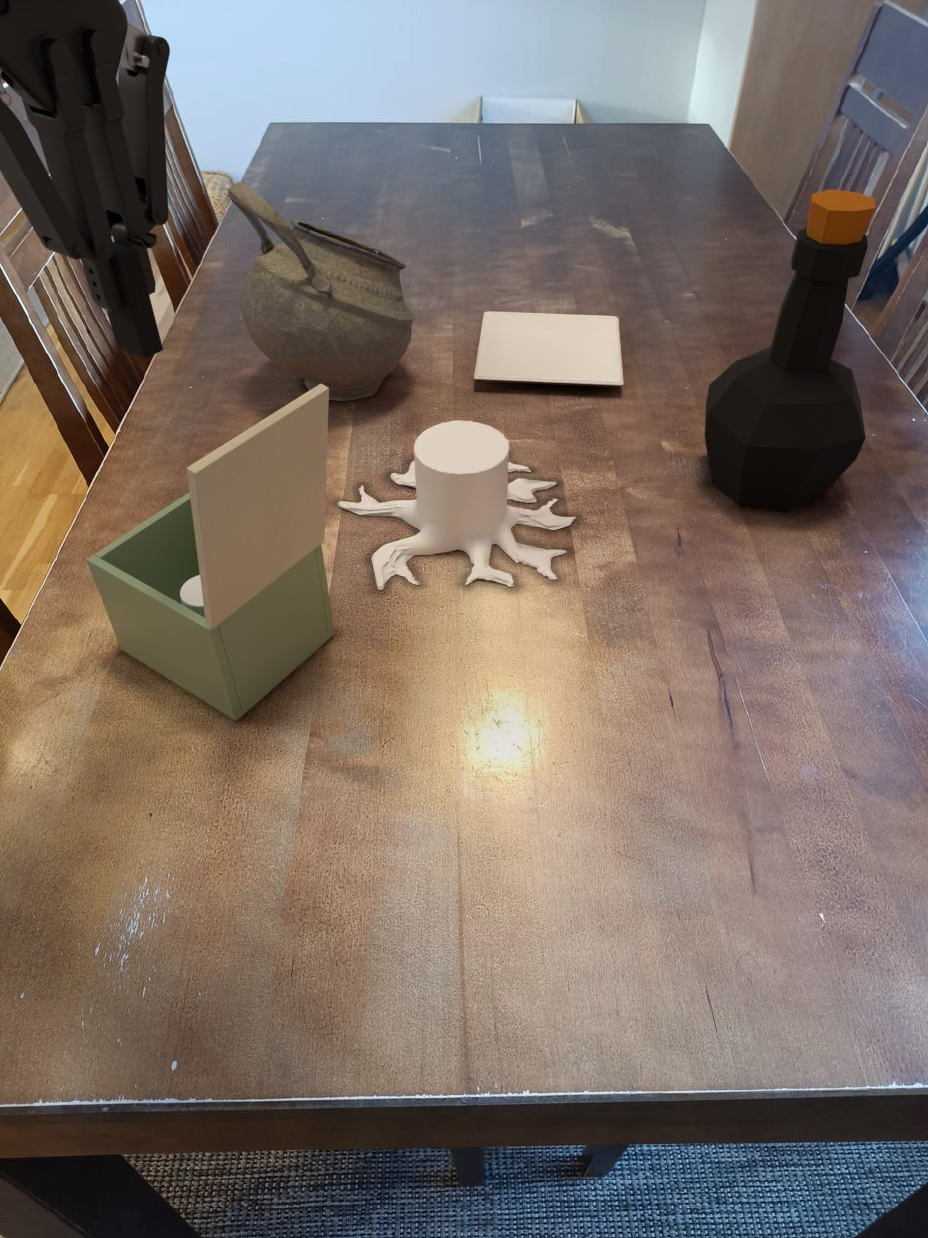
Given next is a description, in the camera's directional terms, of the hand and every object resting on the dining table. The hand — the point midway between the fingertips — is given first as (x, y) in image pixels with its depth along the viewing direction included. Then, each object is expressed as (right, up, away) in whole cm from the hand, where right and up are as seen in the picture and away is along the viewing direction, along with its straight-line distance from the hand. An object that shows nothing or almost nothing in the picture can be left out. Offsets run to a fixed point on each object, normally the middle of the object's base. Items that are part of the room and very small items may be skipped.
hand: (140, 348), depth 59 cm
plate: (+32, +17, +61) cm, 71 cm away
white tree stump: (+21, -7, +36) cm, 42 cm away
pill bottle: (0, -21, +21) cm, 30 cm away
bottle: (+55, -2, +41) cm, 68 cm away
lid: (+6, -10, +7) cm, 13 cm away
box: (0, -20, +23) cm, 31 cm away
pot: (+5, +12, +57) cm, 58 cm away
